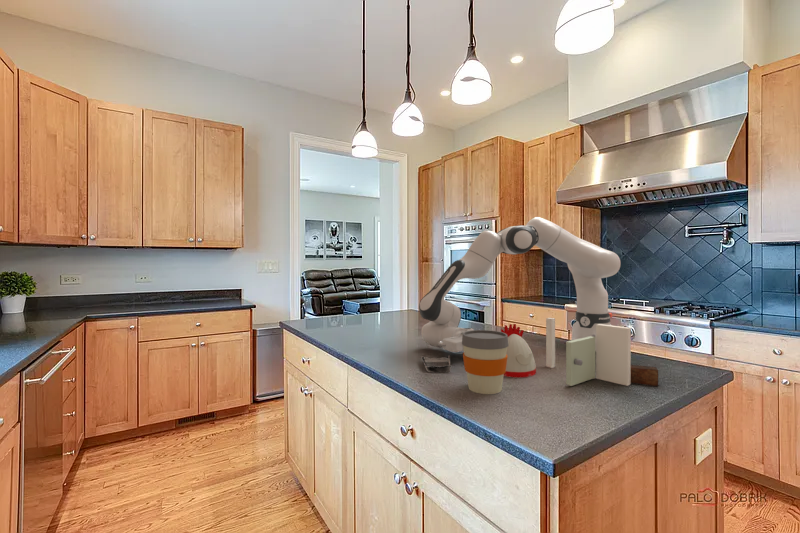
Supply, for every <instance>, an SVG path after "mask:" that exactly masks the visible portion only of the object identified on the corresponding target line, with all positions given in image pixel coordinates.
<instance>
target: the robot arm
mask: <svg viewBox="0 0 800 533" xmlns="http://www.w3.org/2000/svg"><path fill="white" fill-rule="evenodd" d="M534 246H535V247H537V248H539V249H541V250H542V251H544V252H545V253H547V254H548V255H550V256H552V257H554V258H555V259H557V260H559V261H561V262H563V263H566V265H567V268H568V270H569V271H570V273H571V275H572V279H573V281H574V282H573V283H574V286H575V291H576V311H575V314H574V315H575V322H574V323H573V324H572V330H571V340H576V339H580V338H585V337H589V336H592V335H593V334H594V335H595V352H596V325H597V324H604V325H612V324H611V318H613V314H612V312H609V294H608V291H607V290H606V289H605V287H604V284H603V281H602V279H605V278H609V277H612V276H614V275H616V274H617V273H618V272H619V271H620V268H621V266H622V265H621V259H620V257H619V255H618V254H617V253H616V252H614V251H613V250H612V251H611V250H608V249H606V248H602V247H601V246H599V245H596V244H594V243H592V242H590V241H587V240H585V239H582V238H580V237H578V236H576V235H574V234H573V233H571V232H569V231H568V230H567V229H565V228H563V227H562V226H560V225H558V224H557V223H554V222H553V221H550V220H548V219H546V218H542V217H540V216H535V217H532V219H530V220H528V222H527V223H526V224H525V225H522V224H521V225H513V226H508V227H505V228H502V229H501V230H499V231H498V232H495V231H491V230H483V231H481V232H480V233H479V235H477V237H476V238H475V239H474V241H472V242H471V245H470V246H469V248H468V249H467V251H466V252H465V254H464V255H463V256H462V257H461V258H460V259H457V260H455V261H453V262H452V263H451V264H450V266H448V268H447V269H446V270H445V271H444V272H443V274H442V275H441V276H440V278H439V279H438V280H437V282H436V283H434V285H433V287H432V288H431V289H430V290H429V291H428V292H427V293H426V294H425V295H424V296H423V297H422V298H421V299H420V301H419V305H418V310H419V315H420V316H421V318H422V319H424V320H427V321H429V322H427V323H425V324H424V325H422V327H421V331H420V333H421V338H422V340H423V341H424V342H425V343H427V344H428V345H430V346H433V347H436V348H440V349H441V348H442V349H443V350H445V351H448V352H452V353H460V352H464V348H463V345H462V336H463V333H464V332H466V331H473V330H475V329H474V328H471V327H459V326H460V323H461V319H462V311H461V308H460V307H459V306H457V305H456V304H454V303H452V302H450V301H448V300H446V299H445V297H446V296H447V295H448V293H449V292H450V291H451V289H453V287H454V286H455V284H456V283H457V282H458V281H460V280H463V279H470V280H477V279H480V278H482V277H483V278H484V277H485V276H486V275H487V273H489V272H490V269H491V268H492V266H493V265H494V263H495V260H496V259H497V257H498V256H499V255H500V254H505V255H506V254H507V255H523V254H526V253H527V252H529V251H530V250H532V249H533V247H534Z"/></svg>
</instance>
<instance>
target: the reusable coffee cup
mask: <svg viewBox="0 0 800 533" xmlns="http://www.w3.org/2000/svg"><path fill="white" fill-rule="evenodd" d="M462 345H463V348H464V351H463V352H462V358H463V359H462V360H463V364H464V367H463V368H464V371H465V372H466V378H467V385H468V386H467V387H468V390H470V391H471V392H473V393H476V394H482V395H494V394H499V393H501V392H502V391H503V382H504V377H505V376H504V373H505V372H506V365H507V357H508V356H507V355H506V352H507V347H508V346H509V344H508V335H507V334H506V333H503V332H501V331H497V330H489V329H478V330H477V329H474V330H473V331H466V332H464V333H463V336H462Z"/></svg>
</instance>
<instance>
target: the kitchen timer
mask: <svg viewBox="0 0 800 533" xmlns="http://www.w3.org/2000/svg"><path fill="white" fill-rule="evenodd" d="M508 325H509V326H508ZM508 325H507V324H504V329H500V332H503V333H506V334H507V335H508V344H509V346H508V347H507V352H506V355H507V356H508V357H507V365H506V372H505V373H504V376H503V377H506V378H507V377H508V378H528V377H532V376H535V375H536V374H537V365H536V361H535V357H534V354H533V352H532V350H531V348H530V345H529V344H528V343H527V341H526V340H525V339H524V338H523V335H524V330H523V329H521V327H520V326H517V324H516V323H513V324H511V323H509V324H508Z"/></svg>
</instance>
